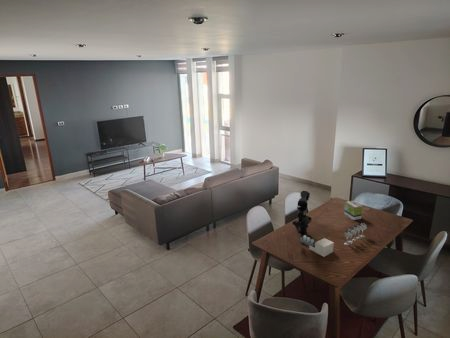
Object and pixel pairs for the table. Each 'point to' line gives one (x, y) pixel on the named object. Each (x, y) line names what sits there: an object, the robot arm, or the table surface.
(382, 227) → the table surface
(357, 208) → the tea box
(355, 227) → the goblet set
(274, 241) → the table surface
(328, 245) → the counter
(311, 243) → the tray
